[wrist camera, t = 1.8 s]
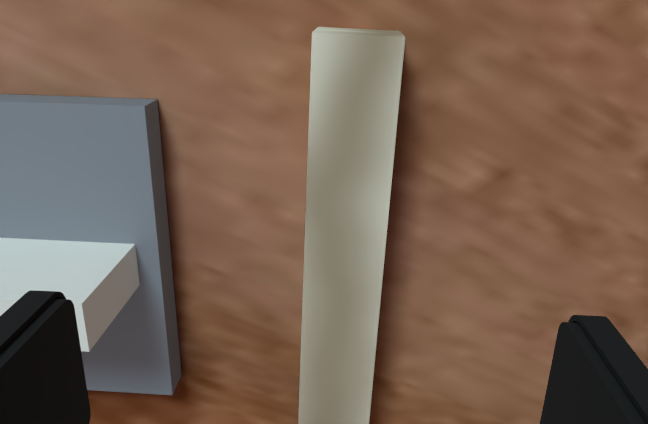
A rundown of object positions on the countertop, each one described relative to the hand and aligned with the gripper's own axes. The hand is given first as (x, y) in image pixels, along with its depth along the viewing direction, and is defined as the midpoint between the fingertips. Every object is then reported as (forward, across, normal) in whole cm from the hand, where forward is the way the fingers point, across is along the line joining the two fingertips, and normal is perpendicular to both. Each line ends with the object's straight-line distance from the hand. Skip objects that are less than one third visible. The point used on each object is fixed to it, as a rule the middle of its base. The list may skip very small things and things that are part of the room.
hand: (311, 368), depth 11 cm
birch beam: (+15, 0, +6) cm, 16 cm away
